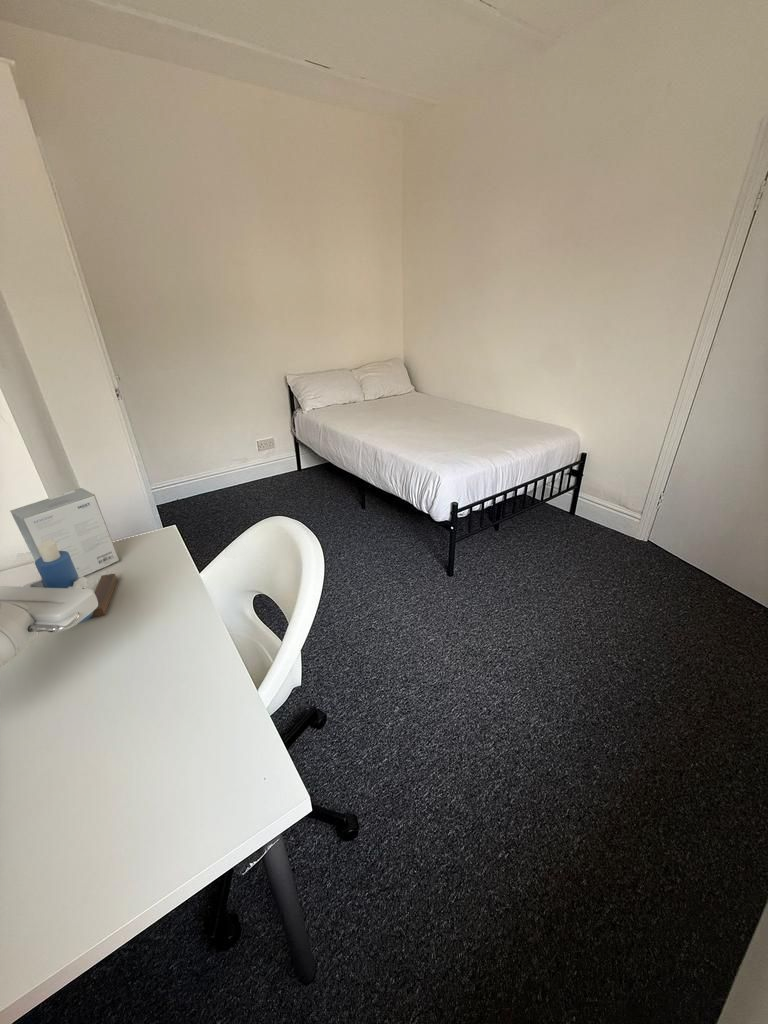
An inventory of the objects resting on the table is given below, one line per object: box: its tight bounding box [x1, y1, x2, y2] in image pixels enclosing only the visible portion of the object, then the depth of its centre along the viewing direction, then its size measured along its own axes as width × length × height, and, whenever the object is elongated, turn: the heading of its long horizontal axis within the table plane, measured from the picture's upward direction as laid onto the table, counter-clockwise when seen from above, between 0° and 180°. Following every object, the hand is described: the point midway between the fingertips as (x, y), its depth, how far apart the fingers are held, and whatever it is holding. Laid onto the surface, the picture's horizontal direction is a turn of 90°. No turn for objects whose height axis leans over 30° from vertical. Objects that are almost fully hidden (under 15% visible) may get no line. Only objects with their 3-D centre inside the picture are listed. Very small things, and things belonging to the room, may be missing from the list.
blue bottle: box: [34, 541, 93, 625], centre depth 80 cm, size 5×5×17 cm
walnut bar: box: [89, 573, 118, 619], centre depth 98 cm, size 3×14×2 cm, turn 20°
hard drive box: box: [9, 487, 120, 577], centre depth 104 cm, size 16×8×20 cm, turn 144°
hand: (66, 579), depth 81 cm, fingers closed on blue bottle, 5 cm apart
